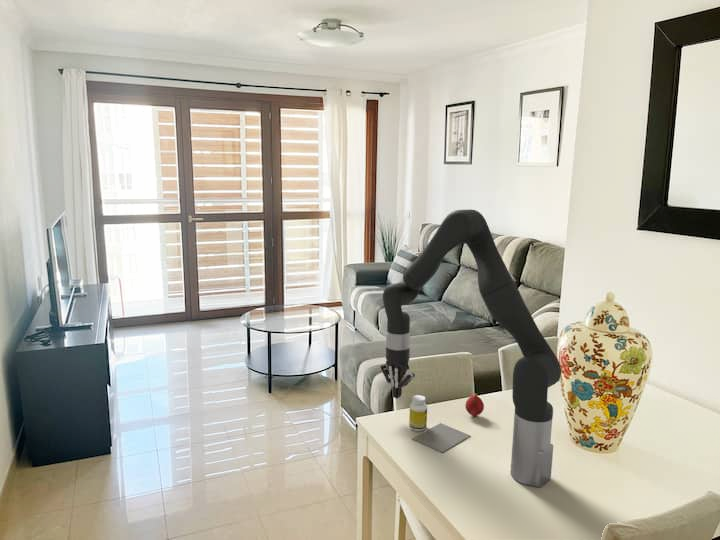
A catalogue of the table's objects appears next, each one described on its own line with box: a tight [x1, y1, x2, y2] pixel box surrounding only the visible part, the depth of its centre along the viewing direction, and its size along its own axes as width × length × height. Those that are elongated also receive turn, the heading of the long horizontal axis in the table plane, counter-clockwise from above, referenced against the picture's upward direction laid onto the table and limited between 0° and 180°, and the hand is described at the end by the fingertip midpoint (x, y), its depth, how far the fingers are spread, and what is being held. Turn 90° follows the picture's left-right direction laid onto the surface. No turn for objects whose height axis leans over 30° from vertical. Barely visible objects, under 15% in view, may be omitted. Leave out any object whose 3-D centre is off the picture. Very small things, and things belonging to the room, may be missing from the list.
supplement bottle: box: [408, 394, 428, 432], centre depth 161 cm, size 5×5×10 cm
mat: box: [411, 422, 471, 454], centre depth 156 cm, size 11×14×1 cm
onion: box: [465, 393, 485, 418], centre depth 169 cm, size 6×6×8 cm
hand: (396, 397), depth 167 cm, fingers closed
